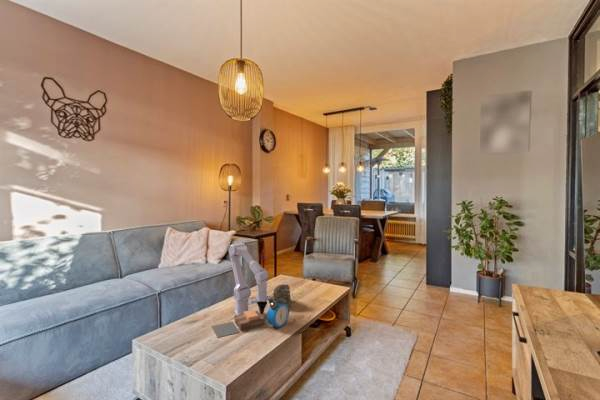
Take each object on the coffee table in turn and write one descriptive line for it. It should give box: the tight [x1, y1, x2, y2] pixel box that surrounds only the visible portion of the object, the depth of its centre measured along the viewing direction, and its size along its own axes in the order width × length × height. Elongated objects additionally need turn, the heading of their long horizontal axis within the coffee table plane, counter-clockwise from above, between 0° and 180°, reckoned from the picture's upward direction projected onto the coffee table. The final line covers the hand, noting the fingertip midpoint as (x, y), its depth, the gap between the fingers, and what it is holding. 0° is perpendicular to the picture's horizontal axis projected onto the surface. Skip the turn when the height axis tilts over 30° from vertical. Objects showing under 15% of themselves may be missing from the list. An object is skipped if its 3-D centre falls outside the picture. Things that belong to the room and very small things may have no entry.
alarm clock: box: [266, 298, 290, 329], centre depth 169 cm, size 13×6×15 cm, turn 142°
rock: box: [268, 283, 292, 307], centre depth 197 cm, size 18×14×15 cm
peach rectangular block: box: [244, 309, 259, 321], centre depth 171 cm, size 9×6×2 cm, turn 30°
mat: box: [211, 321, 241, 338], centre depth 163 cm, size 14×12×1 cm
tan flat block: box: [234, 310, 265, 332], centre depth 170 cm, size 12×14×4 cm
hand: (261, 313), depth 174 cm, fingers closed
